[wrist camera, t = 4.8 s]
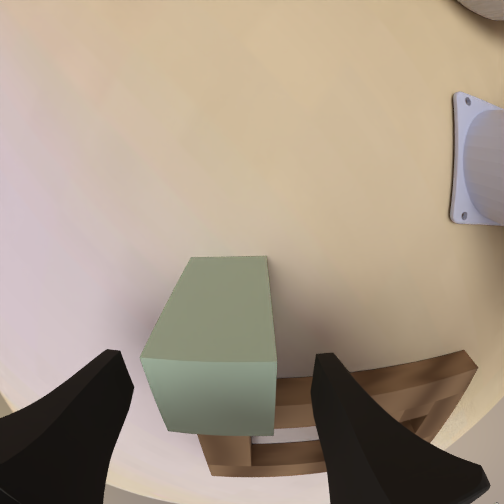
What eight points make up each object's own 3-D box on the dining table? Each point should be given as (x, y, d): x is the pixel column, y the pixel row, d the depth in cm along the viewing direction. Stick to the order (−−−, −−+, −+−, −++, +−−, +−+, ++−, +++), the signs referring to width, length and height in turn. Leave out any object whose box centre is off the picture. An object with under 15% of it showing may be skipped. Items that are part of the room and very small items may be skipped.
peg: (266, 256, 15) (277, 361, 7) (266, 319, 16) (273, 435, 9) (190, 257, 15) (139, 357, 8) (198, 320, 16) (168, 430, 9)
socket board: (464, 349, 18) (478, 367, 15) (419, 431, 22) (426, 447, 20) (194, 378, 18) (188, 404, 16) (214, 455, 22) (211, 475, 20)
